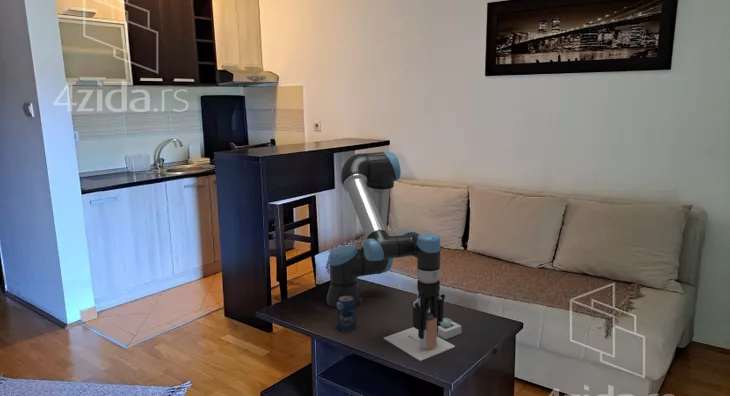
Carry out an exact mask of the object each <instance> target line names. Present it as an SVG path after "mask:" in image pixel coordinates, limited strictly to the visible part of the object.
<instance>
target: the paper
mask: <svg viewBox="0 0 730 396" xmlns="http://www.w3.org/2000/svg"><path fill="white" fill-rule="evenodd" d="M383 339H384V340H385V341H387V342H389V343H390V344H391V345H393V346H395V347H397V348H398V349H400V350H402V352H405V353H406V354H407V355H409V356H411V357H413V358H414V359H416V360H418V361H419V362H421V361H424V360H427V359H429V358H432V357H434V356H437V355H438V354H441V353H444V352H446V351H449V350H451V349H454V348H455V347H456V346H455V345H454V344H452V343H450V342H448V341H446V340H445V339H443V338H441V337H439V336H437V346H435V347H432V348H430V349H427V348H424V347H422V346H420V338H419V337H418V329H416V328H414V327H410V328H407V329H404V330H401V331H399V332H396V333H393V334H390V335H388V336H384V337H383Z"/></svg>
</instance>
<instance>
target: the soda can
mask: <svg viewBox="0 0 730 396" xmlns="http://www.w3.org/2000/svg"><path fill="white" fill-rule="evenodd" d="M356 314H357V313H356V306H355V300H354V298H353V297H352V296H349V295H344V296H340V297H339V298H338V301H337V308H336V316H337V321H336V322H337V328H338V329H339V330H340V331H342V332H351V331H353V330H354V329H355V327H356V326H357V319H356V318H357V315H356Z"/></svg>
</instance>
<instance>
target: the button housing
mask: <svg viewBox="0 0 730 396" xmlns="http://www.w3.org/2000/svg"><path fill="white" fill-rule="evenodd" d="M461 334H462V325H460V324H459V323H457V322H455V321H453V320H451V327H450V328H447V329H445V328H443V327H441V326H438V333H437V337H439V338H441V339H443V340H445V341H446V340H448V339H451V338H453V337H457V336H458V335H461Z"/></svg>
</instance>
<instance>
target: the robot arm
mask: <svg viewBox="0 0 730 396" xmlns="http://www.w3.org/2000/svg"><path fill="white" fill-rule="evenodd" d="M400 177H401V165H400V162H399V159H398V157H397V156H396V154H394V153H393V152H391V151H389V152H388V151H381V152H367V153H366V152H365V153H362V152H360V153H355V154H353V155H351V156H350V157H349V158H348V159H347V160H346V161H345V162H344V163H343V166H342V168H341V171H340V181H341V185H342V188H343V190H344V191H346V192H347V193H348V195H349V198H350V200H351V203H352V205H353V208H354V211H355V214H356V216H357V218H358V220H359V224H360V225H361V229H362V231H363V234H364V235H365V238H364V240H363V241H362V242H361V244H360V245H361V246H360V248H358V247H356V246H354V245H343V246H339V247H336V248H334V249H333V250H331V251H330V252H329V260H328V264H329V288H328V291H327V295H326V303H327V305H328V306H330V307H332V308H336V309H337V301H338V298H339V297H340V296H344V295H349V296H352V297H353V298H354V300H355V307H358V306H360V305H361V304H362V303H363V294H362V292H361V289H360V286H359V283H358V282H359V280H358V278H359V277H364V276H371V275H373V276H374V275H381V274H384V273H387V272H389V271H390V270H391V268H392V265H393V261H394V259H397V258H398V259H399V258H405V257H414V258H416V259H417V260H416V262H417V265H416V266H417V267H416V269H417V271H416V272H417V273H416V274H417V275H416V276H417V281H416V282H417V284H416V285H417V286H416V287H417V290H418V293H419V295H418V299H417V298H416V300H415V301H414V300H412V301H411V302H410V303H411V306H412V323H413V324H412V326H413V327H414V328H416V329H418V337H419V338H420V346H422V347H424V348H427V330H426V329H425V324H426V318H427V312H428V311H429V308H430V313H433V317H435V318H437V333H438V326H440V325H441V324H440V322H442V321H443V318H444V305H445V304H444V301H445V298H446V294H444V293H441V292H440V289H441V281H440V278H441V246H442V245H441V237H440V235H438V234H436V233H432V232H424V233H418V232H416V231H411V230H408V231H404V232H403V233H402V234H401V235H393V236H389V234H388V232H387V225H388V213H389V199H390V191H391V190H392V189H393V188H394V187H395V185H394V184H395V182H397V181H398V180H400ZM417 290H416V291H417ZM413 327H412V328H413Z"/></svg>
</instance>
